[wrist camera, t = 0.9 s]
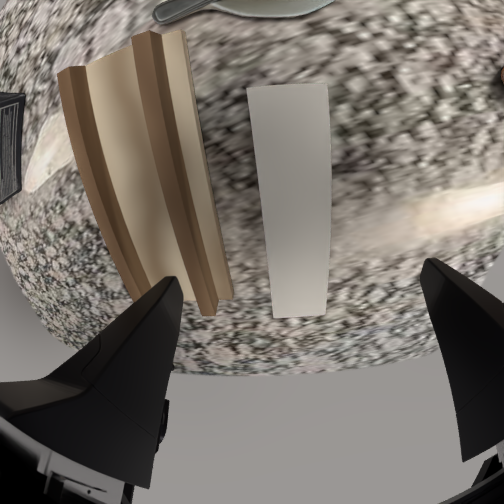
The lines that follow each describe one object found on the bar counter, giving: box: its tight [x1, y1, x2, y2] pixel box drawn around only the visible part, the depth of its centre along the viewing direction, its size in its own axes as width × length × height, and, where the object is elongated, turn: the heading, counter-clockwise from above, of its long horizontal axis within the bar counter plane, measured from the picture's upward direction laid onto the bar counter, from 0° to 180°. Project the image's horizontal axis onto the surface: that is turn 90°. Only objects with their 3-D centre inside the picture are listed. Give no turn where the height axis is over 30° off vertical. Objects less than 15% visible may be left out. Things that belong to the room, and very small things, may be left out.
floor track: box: [57, 30, 234, 316], centre depth 18 cm, size 10×22×3 cm, turn 7°
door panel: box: [246, 83, 332, 318], centre depth 15 cm, size 3×12×8 cm, turn 7°
